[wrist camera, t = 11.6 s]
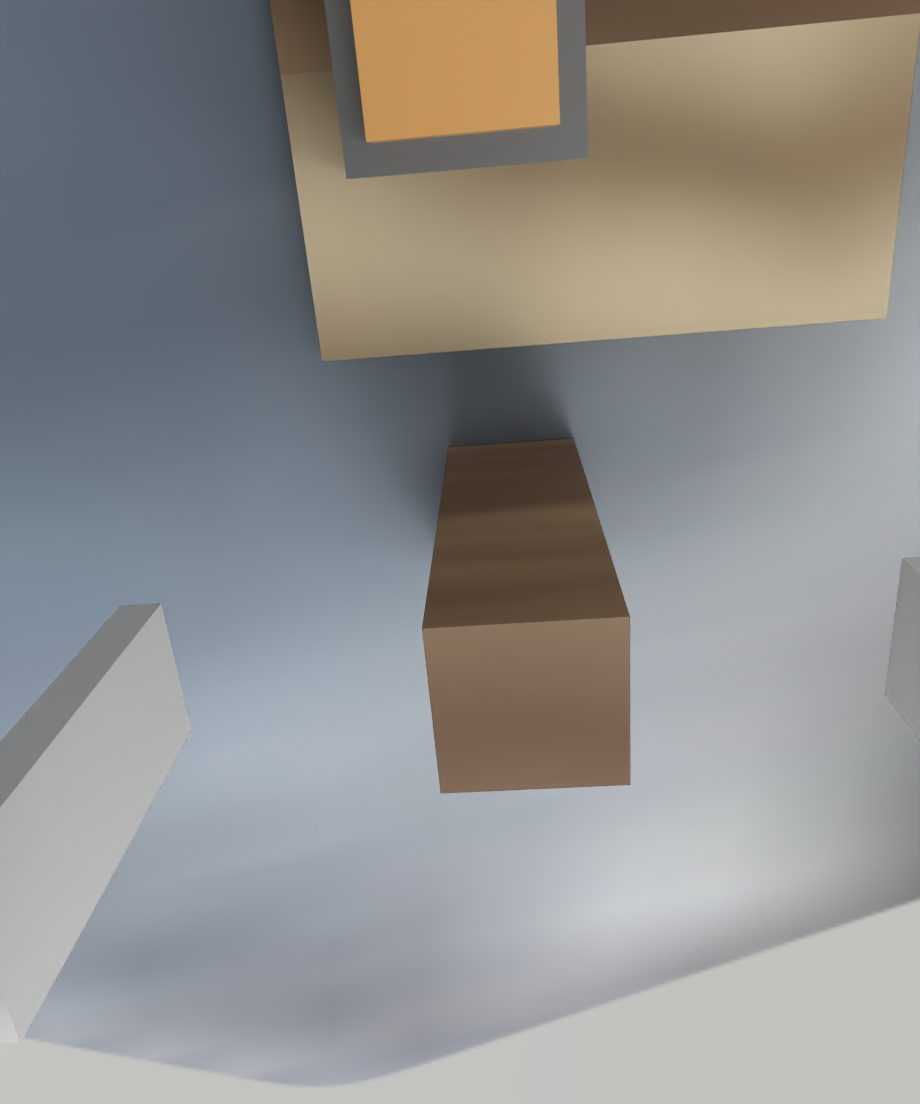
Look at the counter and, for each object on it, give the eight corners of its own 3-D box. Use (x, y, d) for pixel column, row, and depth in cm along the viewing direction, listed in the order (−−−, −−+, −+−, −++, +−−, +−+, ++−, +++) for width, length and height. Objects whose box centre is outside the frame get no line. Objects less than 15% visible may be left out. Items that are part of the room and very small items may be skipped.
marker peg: (448, 447, 21) (421, 628, 13) (573, 438, 21) (630, 616, 12) (458, 559, 22) (440, 793, 14) (577, 552, 22) (630, 784, 14)
